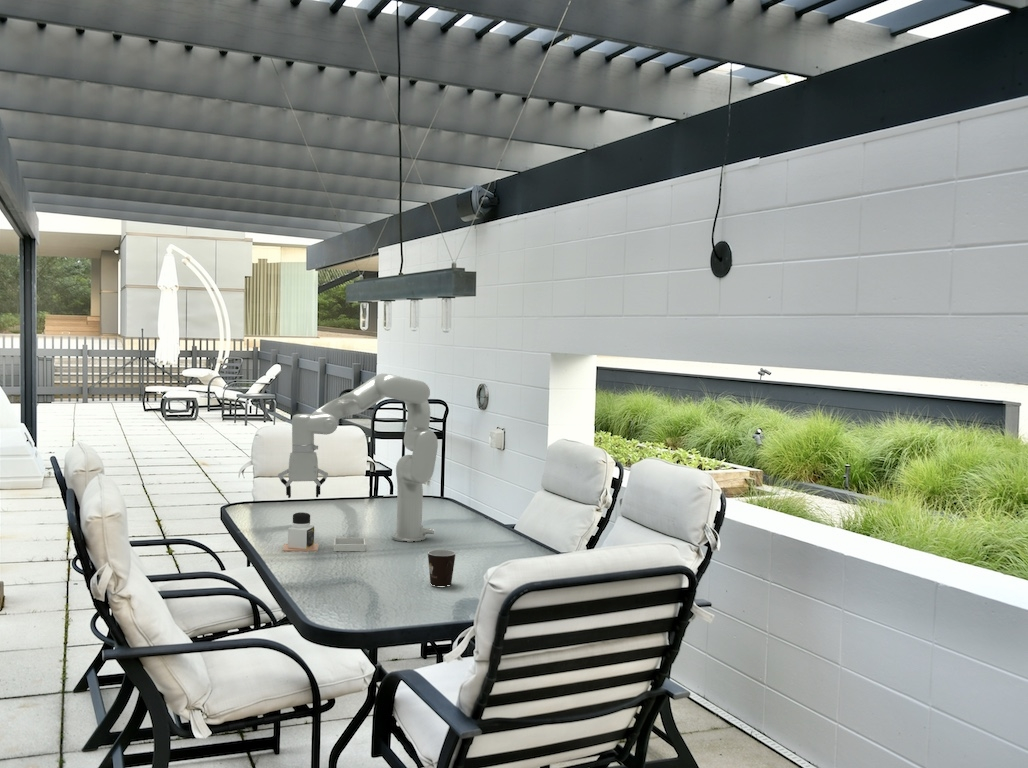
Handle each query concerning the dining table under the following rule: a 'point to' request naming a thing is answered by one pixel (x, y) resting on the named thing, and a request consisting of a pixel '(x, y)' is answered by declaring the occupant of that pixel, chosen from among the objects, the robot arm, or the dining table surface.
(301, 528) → the medicine bottle
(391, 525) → the dining table surface
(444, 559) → the coffee mug
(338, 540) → the parts bin
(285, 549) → the coaster
